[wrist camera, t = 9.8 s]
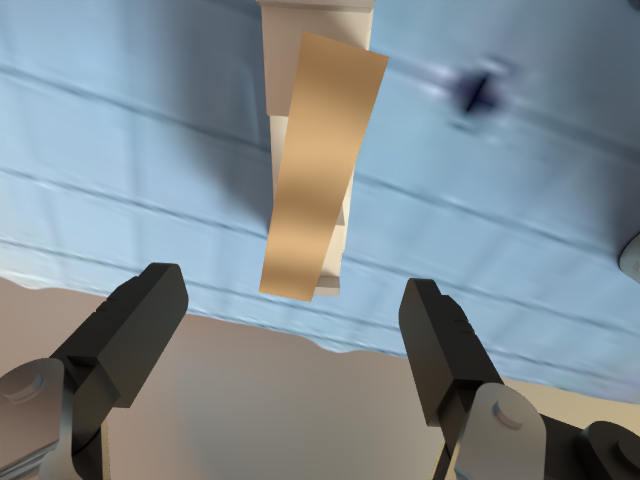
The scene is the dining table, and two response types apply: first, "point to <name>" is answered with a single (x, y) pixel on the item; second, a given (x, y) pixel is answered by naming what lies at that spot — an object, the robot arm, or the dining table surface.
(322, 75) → the bar
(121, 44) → the dining table surface
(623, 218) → the dining table surface
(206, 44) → the dining table surface
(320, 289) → the display stand
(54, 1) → the dining table surface
